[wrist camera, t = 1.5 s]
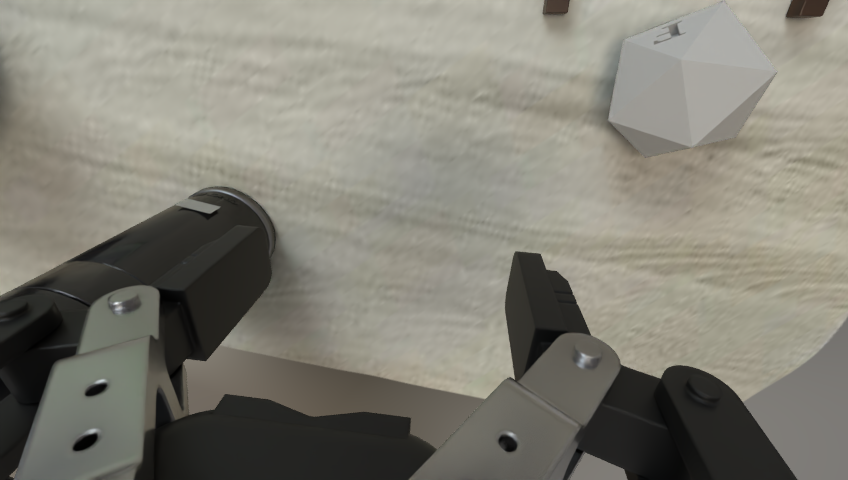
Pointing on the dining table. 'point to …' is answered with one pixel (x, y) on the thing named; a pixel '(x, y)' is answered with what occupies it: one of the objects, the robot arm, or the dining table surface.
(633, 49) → the die
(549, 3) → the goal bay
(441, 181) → the dining table surface
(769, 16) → the dining table surface
